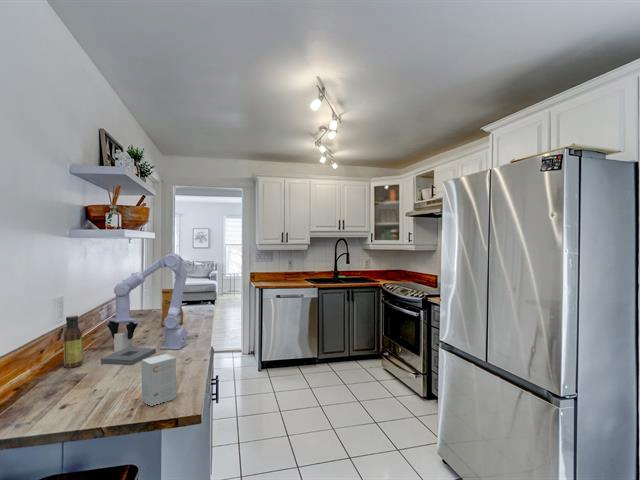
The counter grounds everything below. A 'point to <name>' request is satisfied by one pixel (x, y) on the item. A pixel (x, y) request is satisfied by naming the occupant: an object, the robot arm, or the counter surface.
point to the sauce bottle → (72, 343)
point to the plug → (121, 341)
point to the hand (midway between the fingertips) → (122, 338)
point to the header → (128, 356)
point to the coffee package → (168, 305)
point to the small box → (158, 379)
